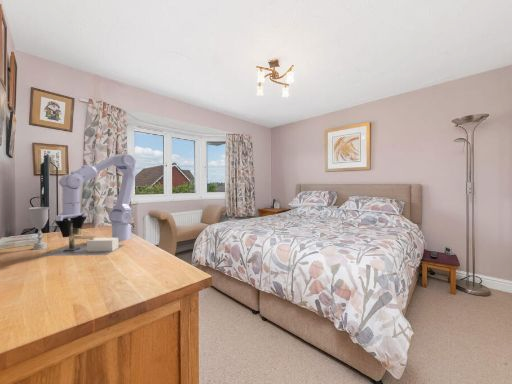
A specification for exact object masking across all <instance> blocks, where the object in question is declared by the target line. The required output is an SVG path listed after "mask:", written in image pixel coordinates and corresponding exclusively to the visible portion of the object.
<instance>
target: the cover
mask: <svg viewBox="0 0 512 384" xmlns="http://www.w3.org/2000/svg"><path fill="white" fill-rule="evenodd" d="M86 245H87V251H113V252H115V251H116V250H115V249H117V248H118V245H119V241H118V238H112V237H95V238H94V239H86ZM114 250H115V251H114ZM117 250H118V249H117Z"/></svg>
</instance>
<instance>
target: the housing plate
mask: <svg viewBox="0 0 512 384" xmlns="http://www.w3.org/2000/svg"><path fill="white" fill-rule="evenodd" d="M124 246H125V244H118V248H117V249H115V250H114V251H87V244H79V245H78V244H77V245H76V244H75V248H72V249H69V245H67V246H64V247H61V248H58V249H55V250H53V251H50V252H47V253H45V254H43V255H41V256H42V257H43V256H45V257H49V256H51V257H52V256H108V255H110V254H111V253H113V252H115V251H117V250H119V249H120V248H122V247H124Z"/></svg>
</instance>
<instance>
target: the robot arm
mask: <svg viewBox="0 0 512 384" xmlns="http://www.w3.org/2000/svg"><path fill="white" fill-rule="evenodd" d="M136 162H137V160H136V159H135V157H134V156H133V154H130V153H121V154H118V153H117V154H116V153H115V154H114V155H111V156H109V157H107V158H105V159H103V160H101V161H99V162H97V163H95V164H94V165H85V164H84V165H82V166H81V168H78V169H77V170H72V171H70V174H63V175H62V176H61V178H60V179H59V180H58V184H59V186H61V189H62V191H61V194H62V195H61V197H62V198H61V200H62V203H61V204H62V213H59V214H58V215H55V220H54V221H55V224H56V225H57V227H58V229H59V230H60V233H61V237H62V238H69V236H70V229H71V228H81V229H82V228H83V224H84V223H85V221H86V219H87V217H86V211H81V191H80V189H81V187H82V186H83V184H85V183H87V182H88V181H90V180H92V179H94V178H96V177H97V176H98V173H100V172H101V171H103V170H106V169H108V168H111V167H112V166H114V167H115V168H117V169H118V170H120V172H121V173H122V174H123V175H122V179H121V184H120V188H119V193H118V198H117V200H116V203H115V205H113V206H112V208H111V209H112V210H111V211H110V213H109V214H108V219H109V221H110V222H111V238H118V242H124V241H127V240H129V239H132V238H133V237H132V225H131V224H130V222H131V221H132V219H133V218H132V217H133V215H132V207H131V206H130V202H131V197H132V194H133V189H134V185H135V180H136V175H137V169H136Z"/></svg>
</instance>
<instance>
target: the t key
mask: <svg viewBox="0 0 512 384" xmlns="http://www.w3.org/2000/svg"><path fill="white" fill-rule="evenodd" d="M81 230H82V228H73V227H71V229H70V236H69V237H68V246H69V249H72V248H75V245H76V243H75V240H90V239H94V238H96V235H89V236H88V235H87V236H86V235H84V236H82V235H81V233H82V231H81ZM80 235H81V236H80Z"/></svg>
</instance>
